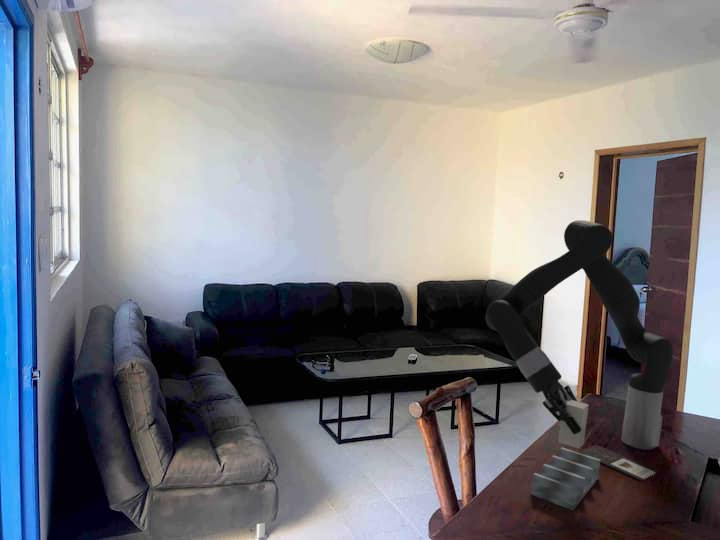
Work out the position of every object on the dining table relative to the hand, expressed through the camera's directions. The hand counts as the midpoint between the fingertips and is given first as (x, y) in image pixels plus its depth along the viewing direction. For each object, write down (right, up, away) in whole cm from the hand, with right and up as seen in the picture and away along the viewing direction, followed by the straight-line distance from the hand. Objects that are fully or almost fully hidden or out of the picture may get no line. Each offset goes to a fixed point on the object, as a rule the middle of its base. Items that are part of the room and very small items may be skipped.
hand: (580, 429), depth 142 cm
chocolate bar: (+17, -15, +18) cm, 29 cm away
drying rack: (-3, -15, +3) cm, 16 cm away
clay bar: (-2, -4, +2) cm, 5 cm away
